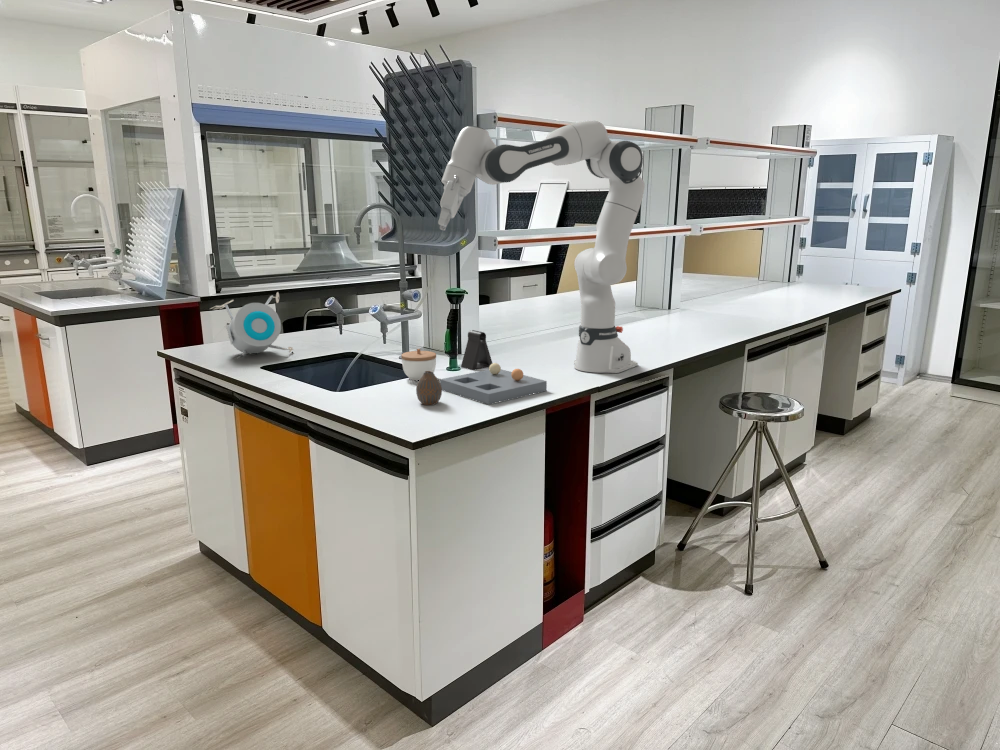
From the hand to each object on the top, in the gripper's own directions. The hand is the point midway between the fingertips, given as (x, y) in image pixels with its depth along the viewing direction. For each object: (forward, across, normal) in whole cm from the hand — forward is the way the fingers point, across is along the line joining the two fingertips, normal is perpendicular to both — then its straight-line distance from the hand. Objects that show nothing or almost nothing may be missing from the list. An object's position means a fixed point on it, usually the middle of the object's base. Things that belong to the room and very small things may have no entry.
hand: (441, 227), depth 199 cm
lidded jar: (+45, +14, -8) cm, 48 cm away
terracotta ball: (+32, -3, -35) cm, 48 cm away
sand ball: (+33, +5, -29) cm, 44 cm away
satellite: (+61, +51, +52) cm, 95 cm away
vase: (+47, -14, -14) cm, 51 cm away
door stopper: (+36, +30, -24) cm, 53 cm away
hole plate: (+39, -1, -30) cm, 49 cm away
